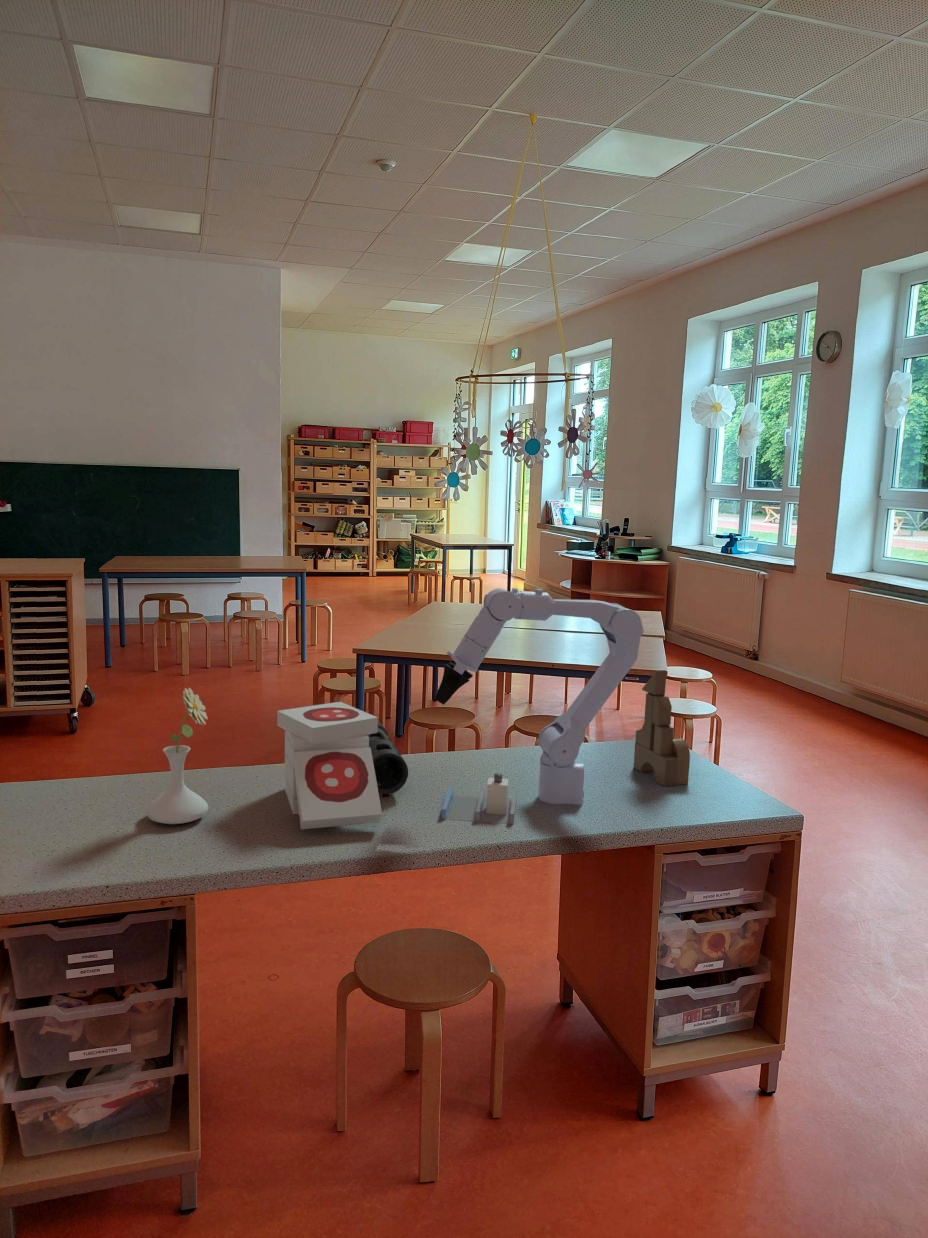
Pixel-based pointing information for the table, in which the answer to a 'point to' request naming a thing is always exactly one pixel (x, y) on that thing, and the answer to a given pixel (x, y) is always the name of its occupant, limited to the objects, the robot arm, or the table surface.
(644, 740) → the wooden toy
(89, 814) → the table surface
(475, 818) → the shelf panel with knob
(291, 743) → the pizza boxes
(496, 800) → the plug
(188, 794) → the flower in vase
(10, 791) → the table surface
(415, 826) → the table surface
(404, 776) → the muzzle brake
